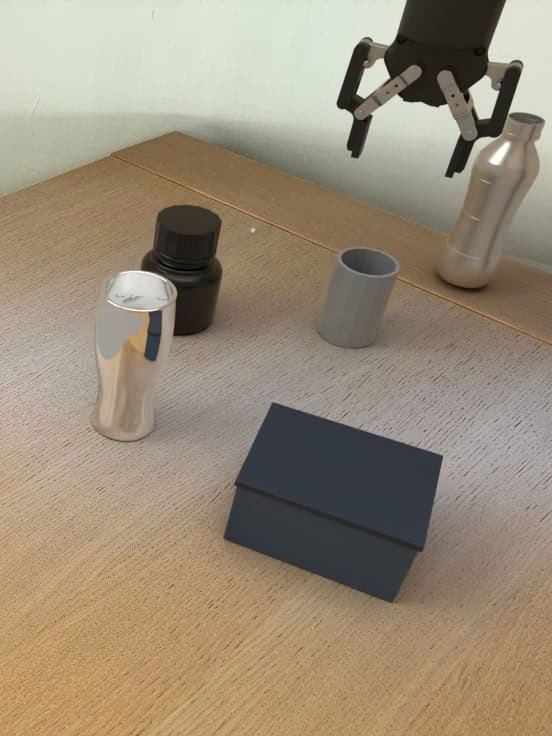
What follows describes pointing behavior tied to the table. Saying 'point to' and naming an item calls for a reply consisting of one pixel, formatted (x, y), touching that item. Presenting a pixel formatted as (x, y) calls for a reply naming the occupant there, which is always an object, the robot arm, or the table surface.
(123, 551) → the table surface
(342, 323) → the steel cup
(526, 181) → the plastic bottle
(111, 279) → the beer glass
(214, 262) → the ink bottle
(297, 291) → the table surface
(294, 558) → the storage box
